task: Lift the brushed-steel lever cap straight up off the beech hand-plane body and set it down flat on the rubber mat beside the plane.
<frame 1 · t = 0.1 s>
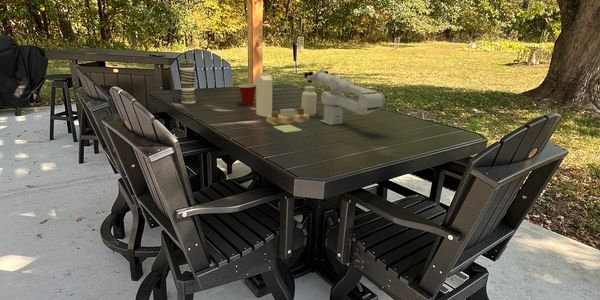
hand: (310, 74, 203), 22 cm above the table, tool horizontal, fingers open, 7 cm apart
rubber mat: (287, 129, 178), on the table
lever cap: (288, 115, 192), point 3 cm above the table, touching plane body
plastic cup: (247, 105, 230), on the table
milk: (264, 115, 205), on the table
decorative candle: (188, 102, 232), on the table
pill bottle: (308, 114, 211), on the table
plane body: (287, 121, 193), on the table
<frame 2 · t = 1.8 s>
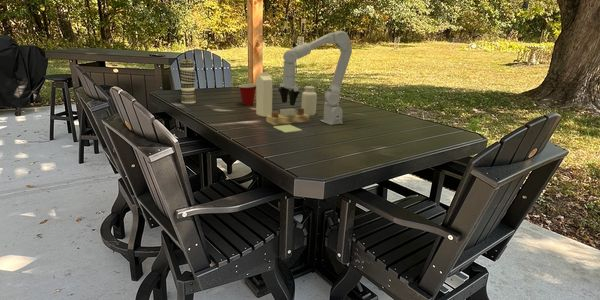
hand: (288, 103, 190), 9 cm above the table, tool pointing down, fingers open, 7 cm apart
nothing on the table moved.
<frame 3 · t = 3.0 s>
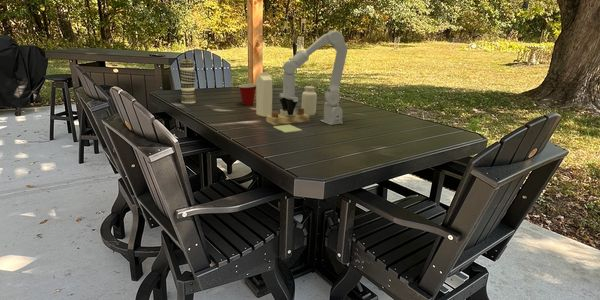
hand: (288, 113, 192), 4 cm above the table, tool pointing down, fingers closed on lever cap, 4 cm apart
lever cap: (288, 115, 192), point 3 cm above the table, touching gripper, plane body
everything else where it was.
when the fingers open (3 cm above the table, at t = 7.0 s): lever cap drops 1 cm, resting on rubber mat.
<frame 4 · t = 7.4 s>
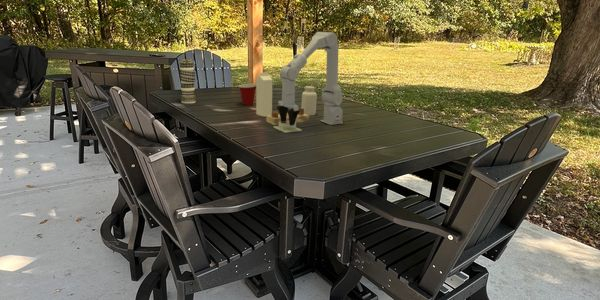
hand: (287, 123, 177), 3 cm above the table, tool pointing down, fingers open, 7 cm apart
lever cap: (287, 128, 178), resting on rubber mat
everything else where it was.
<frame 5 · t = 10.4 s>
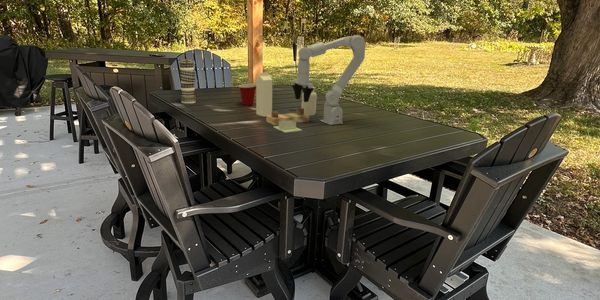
hand: (301, 100, 192), 10 cm above the table, tool pointing down, fingers open, 7 cm apart
nothing on the table moved.
at the end: lever cap inside the target area on the rubber mat (0.1 cm from its centre), point 0.4 cm above the rubber mat's base; lever cap tilted 0°; the gripper is holding nothing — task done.
